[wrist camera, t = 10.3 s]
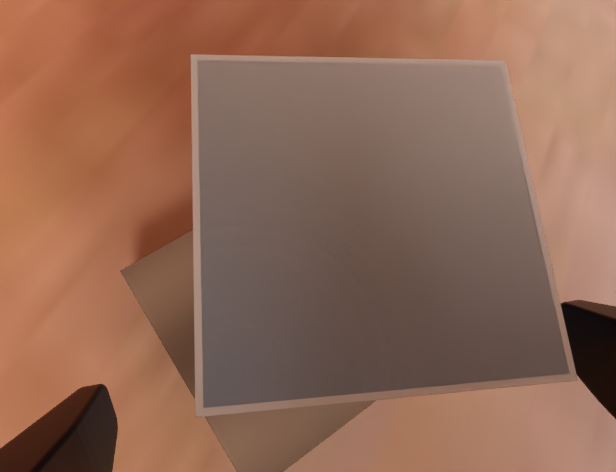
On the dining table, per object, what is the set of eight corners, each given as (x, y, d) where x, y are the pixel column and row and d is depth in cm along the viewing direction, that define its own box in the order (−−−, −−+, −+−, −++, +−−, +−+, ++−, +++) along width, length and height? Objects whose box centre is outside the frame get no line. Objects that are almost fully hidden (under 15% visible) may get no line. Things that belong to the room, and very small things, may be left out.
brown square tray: (429, 347, 22) (454, 340, 19) (252, 481, 20) (251, 495, 17) (312, 185, 24) (319, 157, 22) (138, 286, 22) (120, 270, 19)
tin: (363, 374, 19) (577, 380, 7) (226, 386, 18) (195, 417, 6) (349, 245, 20) (505, 60, 8) (222, 250, 19) (190, 54, 7)
